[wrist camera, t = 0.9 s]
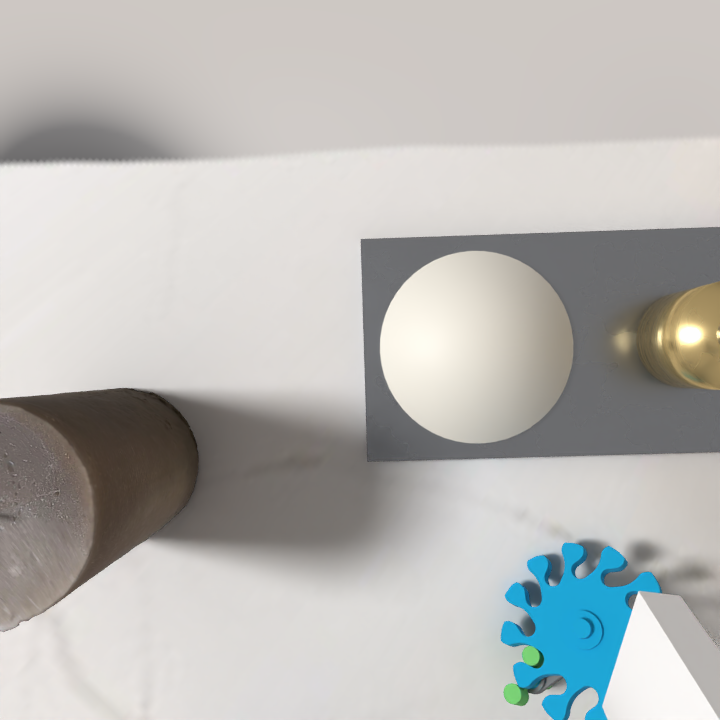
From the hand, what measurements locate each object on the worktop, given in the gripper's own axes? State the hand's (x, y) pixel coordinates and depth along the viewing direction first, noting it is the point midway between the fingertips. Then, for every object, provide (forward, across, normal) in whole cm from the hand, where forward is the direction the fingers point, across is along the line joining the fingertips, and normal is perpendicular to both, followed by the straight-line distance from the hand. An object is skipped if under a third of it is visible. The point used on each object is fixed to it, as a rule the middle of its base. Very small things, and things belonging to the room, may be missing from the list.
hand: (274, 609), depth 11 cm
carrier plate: (+28, -14, +1) cm, 31 cm away
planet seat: (+26, -8, +2) cm, 27 cm away
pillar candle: (+25, +13, +12) cm, 31 cm away
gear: (+22, -16, +17) cm, 32 cm away
